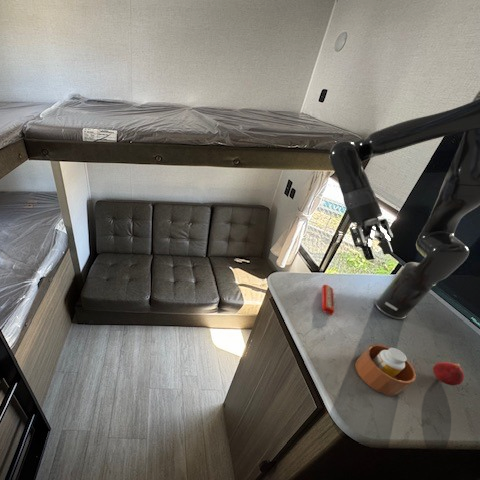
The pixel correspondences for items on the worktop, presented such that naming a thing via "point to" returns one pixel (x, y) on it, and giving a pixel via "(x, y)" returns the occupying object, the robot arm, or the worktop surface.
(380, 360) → the supplement bottle
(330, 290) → the candy bar
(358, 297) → the worktop surface
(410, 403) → the worktop surface
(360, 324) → the worktop surface
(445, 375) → the red oval piece
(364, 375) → the orange-brown round open container
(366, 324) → the worktop surface
